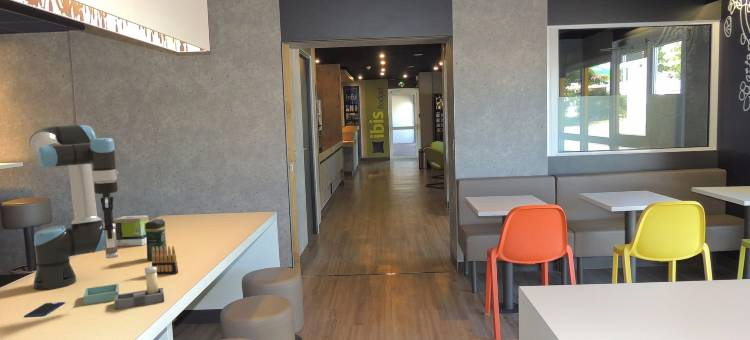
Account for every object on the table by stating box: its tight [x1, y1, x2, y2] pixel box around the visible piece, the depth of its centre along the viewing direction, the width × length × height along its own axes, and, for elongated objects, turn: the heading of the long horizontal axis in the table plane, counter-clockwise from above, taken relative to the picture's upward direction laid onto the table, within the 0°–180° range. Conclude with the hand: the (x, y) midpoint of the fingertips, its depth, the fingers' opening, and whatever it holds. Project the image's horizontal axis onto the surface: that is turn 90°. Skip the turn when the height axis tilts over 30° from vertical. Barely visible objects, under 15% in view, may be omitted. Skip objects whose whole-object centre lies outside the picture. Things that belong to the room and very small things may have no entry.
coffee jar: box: [145, 218, 168, 261], centre depth 265 cm, size 10×8×19 cm
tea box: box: [113, 214, 150, 247], centre depth 300 cm, size 15×10×15 cm, turn 84°
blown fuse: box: [103, 223, 119, 259], centre depth 201 cm, size 4×4×12 cm
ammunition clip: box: [151, 245, 179, 276], centre depth 238 cm, size 11×2×12 cm, turn 86°
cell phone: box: [23, 301, 66, 318], centre depth 198 cm, size 7×14×1 cm, turn 1°
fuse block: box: [114, 287, 165, 310], centre depth 201 cm, size 16×8×3 cm, turn 113°
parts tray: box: [82, 283, 120, 306], centre depth 208 cm, size 11×11×3 cm
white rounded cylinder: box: [144, 265, 159, 295], centre depth 203 cm, size 4×4×12 cm
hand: (111, 245), depth 202 cm, fingers closed on blown fuse, 4 cm apart
